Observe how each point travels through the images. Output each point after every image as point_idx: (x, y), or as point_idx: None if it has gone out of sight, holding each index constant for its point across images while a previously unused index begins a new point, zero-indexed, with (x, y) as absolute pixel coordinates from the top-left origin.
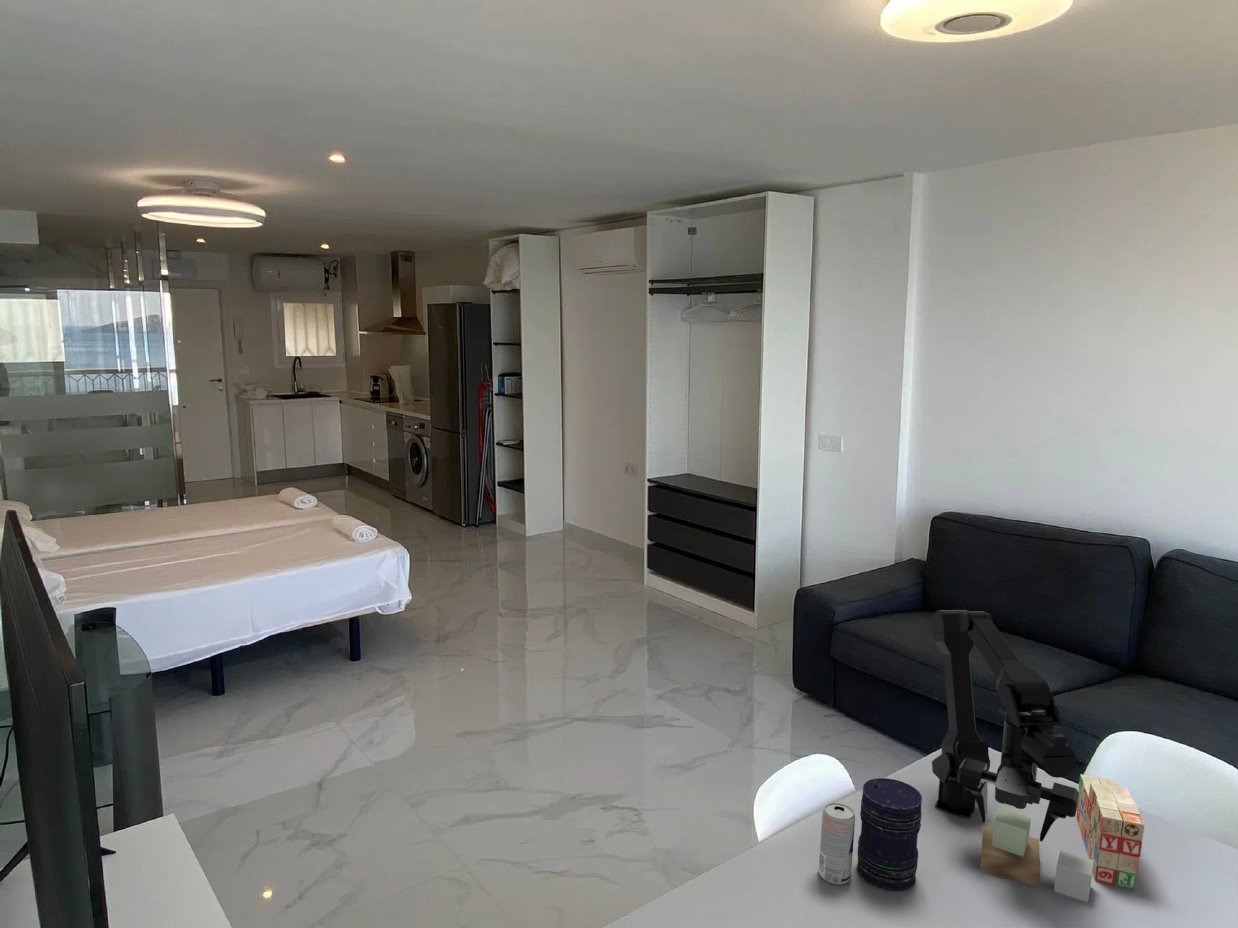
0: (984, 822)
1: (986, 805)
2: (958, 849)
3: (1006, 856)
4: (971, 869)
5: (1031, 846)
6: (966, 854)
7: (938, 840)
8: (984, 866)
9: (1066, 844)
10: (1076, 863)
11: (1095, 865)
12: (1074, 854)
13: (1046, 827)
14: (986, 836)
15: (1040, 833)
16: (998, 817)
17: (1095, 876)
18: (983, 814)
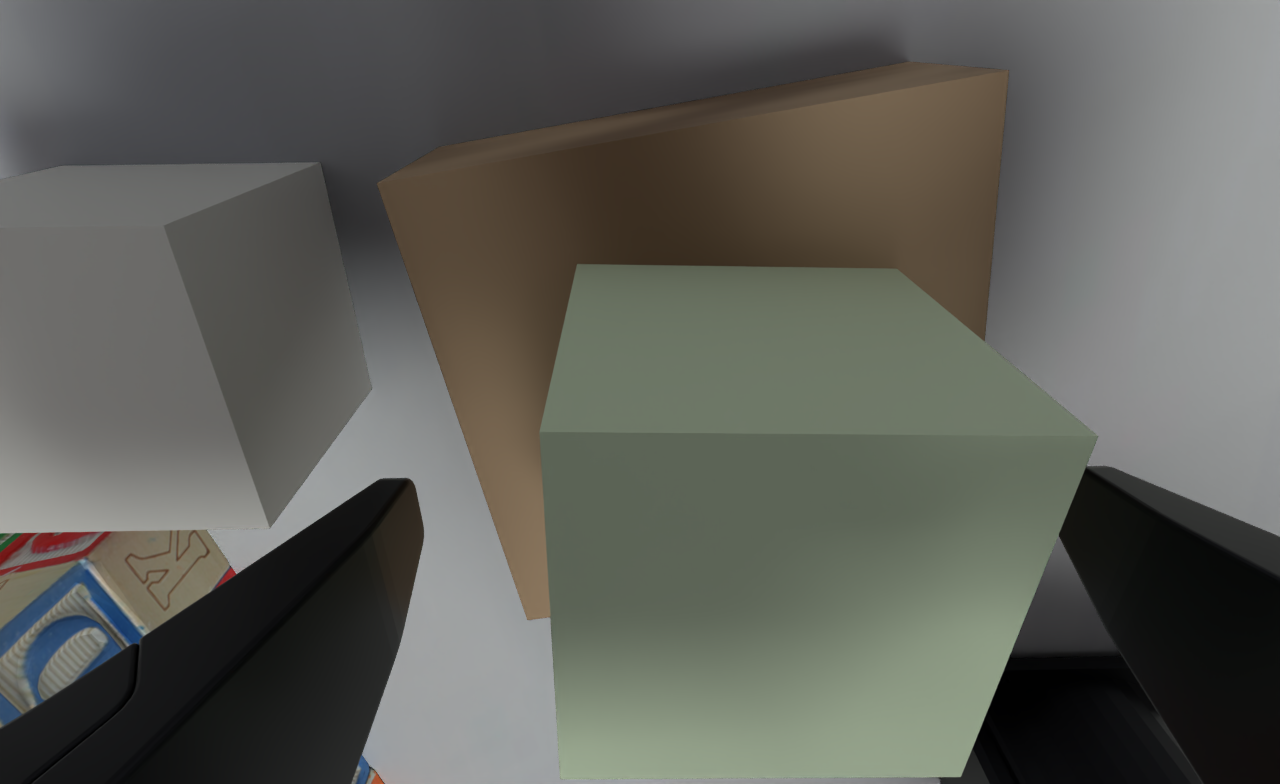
0: (1087, 469)
1: (1215, 710)
2: (1082, 277)
3: (735, 153)
4: (991, 21)
5: None
6: (1022, 245)
7: (1236, 306)
8: (898, 68)
9: (437, 712)
10: (31, 378)
11: (121, 566)
12: (137, 523)
13: (198, 631)
14: None
15: (364, 534)
16: (1009, 543)
17: None
18: (1213, 527)
